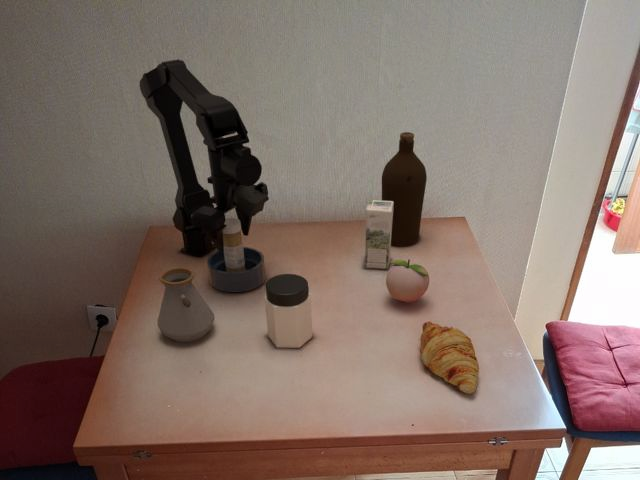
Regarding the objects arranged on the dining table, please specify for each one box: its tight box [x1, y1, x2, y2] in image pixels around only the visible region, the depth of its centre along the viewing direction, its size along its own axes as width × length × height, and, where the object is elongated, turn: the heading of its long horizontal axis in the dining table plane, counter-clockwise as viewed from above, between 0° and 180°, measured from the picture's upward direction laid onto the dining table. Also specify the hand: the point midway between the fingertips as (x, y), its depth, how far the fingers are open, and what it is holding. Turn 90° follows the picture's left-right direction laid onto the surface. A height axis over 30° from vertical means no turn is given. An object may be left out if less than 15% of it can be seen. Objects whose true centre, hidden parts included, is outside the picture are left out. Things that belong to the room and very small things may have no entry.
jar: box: [264, 273, 313, 349], centre depth 119 cm, size 9×8×12 cm
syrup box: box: [364, 199, 394, 271], centre depth 140 cm, size 6×6×14 cm
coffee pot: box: [157, 267, 215, 343], centre depth 117 cm, size 21×12×15 cm, turn 18°
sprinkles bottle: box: [223, 217, 245, 272], centre depth 136 cm, size 5×5×14 cm
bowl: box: [206, 246, 267, 293], centre depth 139 cm, size 13×13×5 cm
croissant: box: [419, 321, 480, 394], centre depth 113 cm, size 21×10×8 cm, turn 16°
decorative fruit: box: [385, 259, 430, 303], centre depth 129 cm, size 9×8×10 cm
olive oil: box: [381, 131, 428, 247], centre depth 147 cm, size 11×11×25 cm
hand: (233, 243), depth 135 cm, fingers open, 9 cm apart
